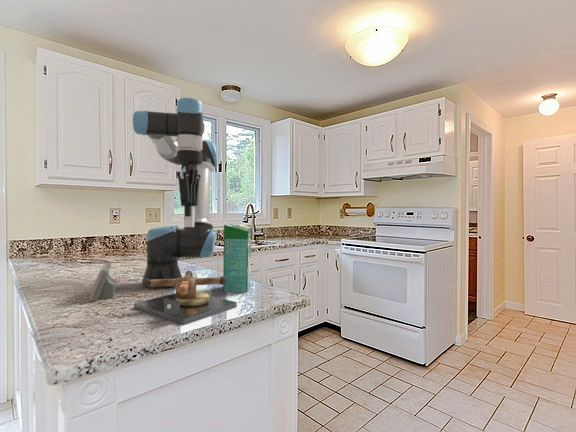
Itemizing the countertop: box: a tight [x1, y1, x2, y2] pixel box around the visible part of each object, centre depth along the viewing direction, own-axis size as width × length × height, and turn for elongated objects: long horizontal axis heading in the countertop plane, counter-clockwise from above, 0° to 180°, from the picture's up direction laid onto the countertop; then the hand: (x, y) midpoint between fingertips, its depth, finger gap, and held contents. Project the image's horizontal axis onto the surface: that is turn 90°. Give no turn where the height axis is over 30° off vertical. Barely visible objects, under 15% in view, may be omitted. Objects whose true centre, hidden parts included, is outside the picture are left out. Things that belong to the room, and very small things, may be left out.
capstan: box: [144, 270, 226, 306], centre depth 101 cm, size 25×25×7 cm
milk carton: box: [222, 223, 252, 293], centre depth 125 cm, size 9×9×25 cm
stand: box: [133, 292, 238, 326], centre depth 100 cm, size 24×21×6 cm
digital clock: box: [88, 262, 116, 302], centre depth 112 cm, size 16×9×11 cm, turn 14°
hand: (189, 226), depth 101 cm, fingers closed
